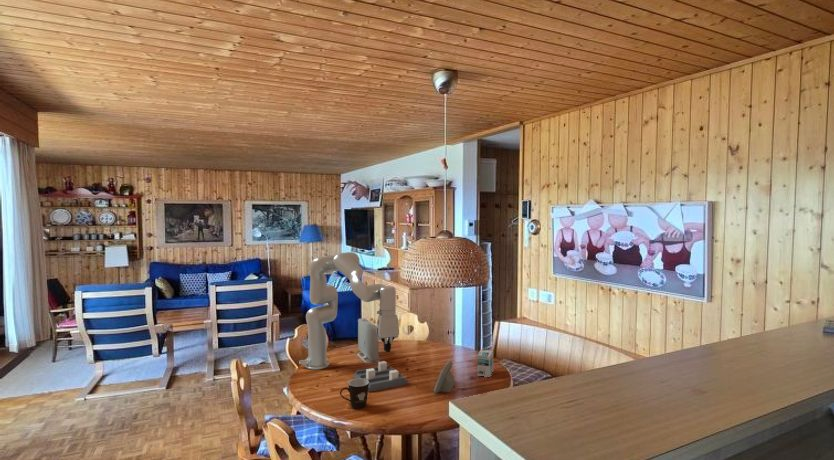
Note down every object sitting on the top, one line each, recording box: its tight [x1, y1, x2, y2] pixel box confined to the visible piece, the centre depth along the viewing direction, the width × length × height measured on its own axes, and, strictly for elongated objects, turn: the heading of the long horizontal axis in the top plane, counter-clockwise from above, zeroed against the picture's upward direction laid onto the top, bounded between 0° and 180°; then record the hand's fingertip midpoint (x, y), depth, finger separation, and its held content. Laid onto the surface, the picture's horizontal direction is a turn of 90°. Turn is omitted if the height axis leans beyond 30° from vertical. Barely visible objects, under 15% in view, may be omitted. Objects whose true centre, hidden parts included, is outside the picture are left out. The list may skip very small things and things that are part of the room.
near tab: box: [389, 369, 399, 380], centre depth 201 cm, size 4×3×4 cm
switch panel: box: [353, 364, 409, 393], centre depth 205 cm, size 20×20×3 cm
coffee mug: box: [339, 378, 369, 410], centre depth 177 cm, size 12×9×10 cm
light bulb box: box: [476, 349, 494, 378], centre depth 214 cm, size 11×7×11 cm, turn 161°
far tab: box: [377, 360, 388, 371], centre depth 213 cm, size 4×3×4 cm
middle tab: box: [365, 367, 375, 379], centre depth 203 cm, size 4×3×4 cm
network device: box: [357, 318, 381, 364], centre depth 239 cm, size 26×9×20 cm, turn 25°
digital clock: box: [433, 360, 455, 394], centre depth 196 cm, size 16×9×11 cm, turn 151°
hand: (387, 351), depth 199 cm, fingers closed
